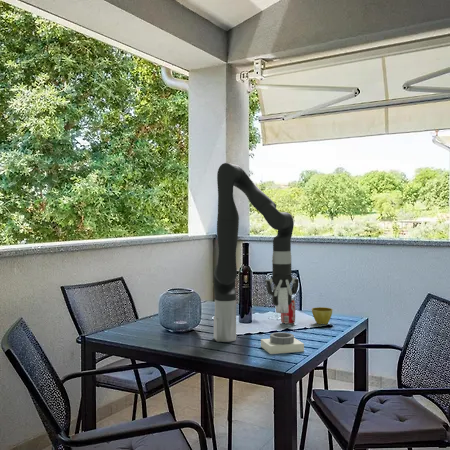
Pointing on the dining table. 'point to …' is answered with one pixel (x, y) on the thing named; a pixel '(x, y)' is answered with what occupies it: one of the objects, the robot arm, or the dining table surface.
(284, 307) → the pale grey cylinder
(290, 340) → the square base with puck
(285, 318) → the soda can
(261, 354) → the dining table surface
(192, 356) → the dining table surface
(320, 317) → the flower pot
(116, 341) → the dining table surface
